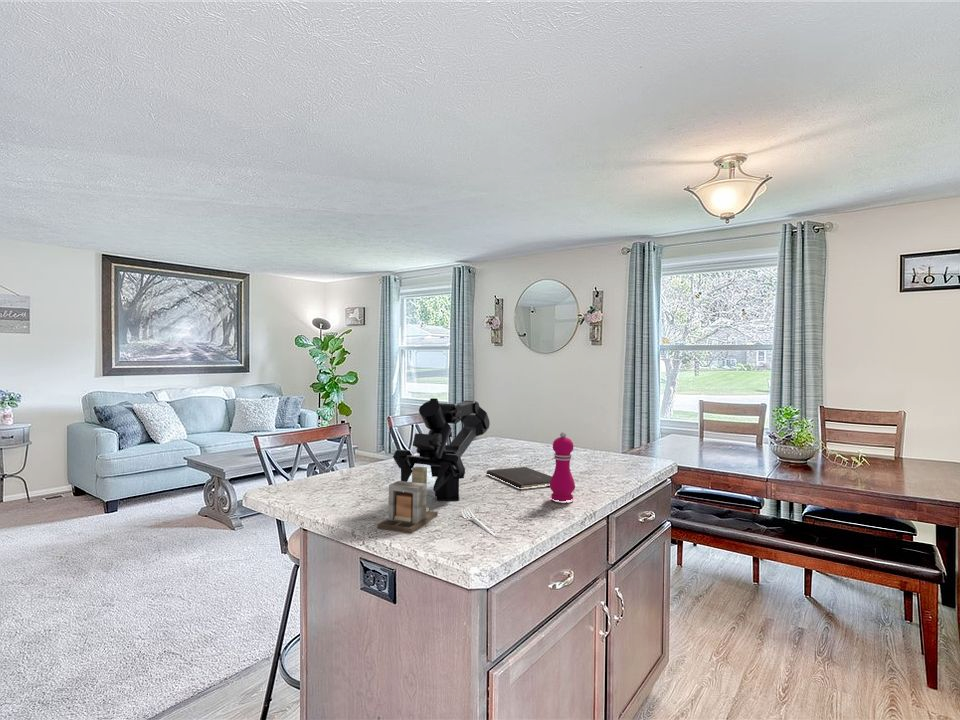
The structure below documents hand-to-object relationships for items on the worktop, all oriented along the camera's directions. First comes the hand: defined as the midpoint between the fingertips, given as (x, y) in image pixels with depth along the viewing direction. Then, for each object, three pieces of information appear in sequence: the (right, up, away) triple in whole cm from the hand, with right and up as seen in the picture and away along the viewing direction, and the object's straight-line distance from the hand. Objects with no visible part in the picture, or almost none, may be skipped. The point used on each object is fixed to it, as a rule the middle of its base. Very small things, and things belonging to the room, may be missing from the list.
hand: (417, 489), depth 131 cm
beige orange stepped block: (-1, -6, -3) cm, 6 cm away
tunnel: (-2, -7, -5) cm, 9 cm away
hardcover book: (+31, -9, +43) cm, 53 cm away
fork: (+16, -8, -6) cm, 19 cm away
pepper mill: (+40, -8, +17) cm, 44 cm away
